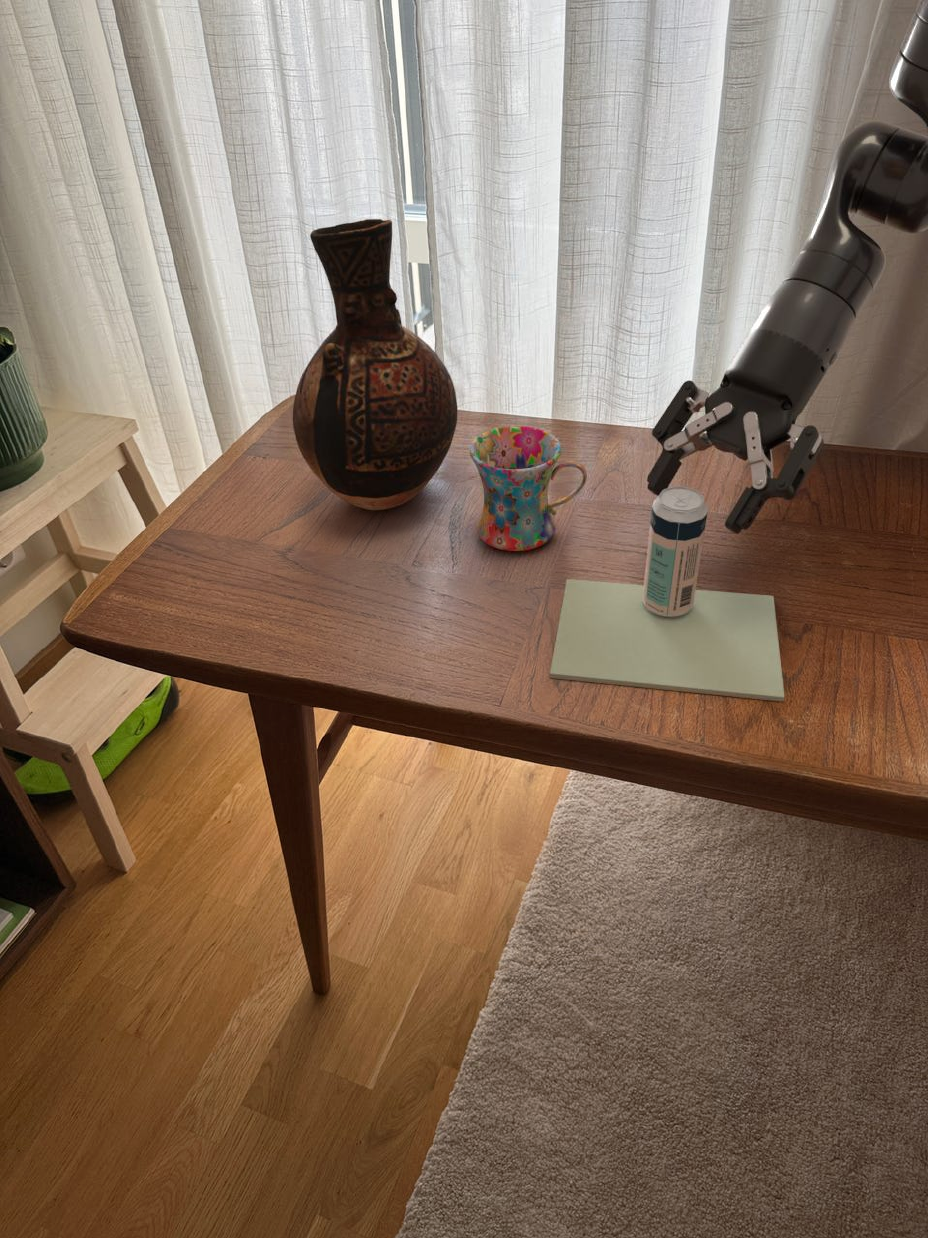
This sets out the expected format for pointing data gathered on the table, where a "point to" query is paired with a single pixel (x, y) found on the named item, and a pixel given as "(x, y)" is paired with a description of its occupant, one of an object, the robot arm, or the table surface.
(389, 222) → the ceramic vessel
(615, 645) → the mat
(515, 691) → the table surface
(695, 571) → the beer can
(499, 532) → the mug
